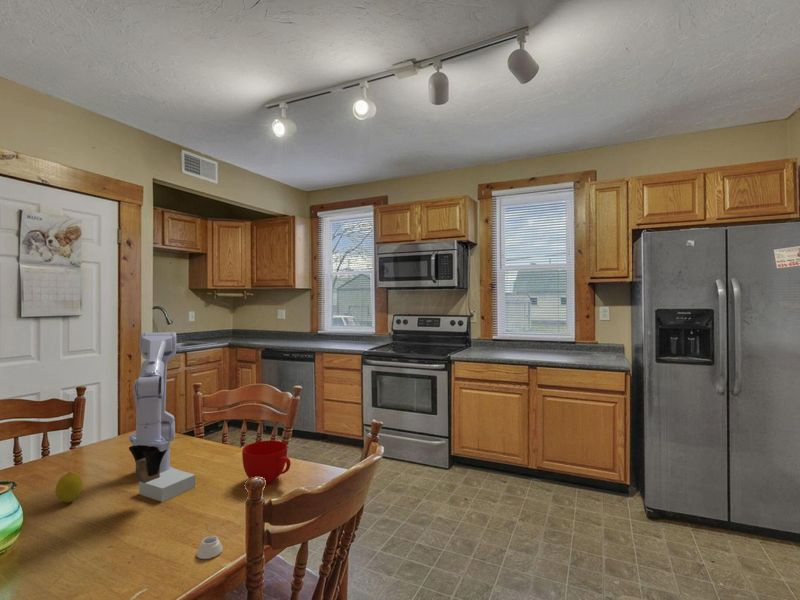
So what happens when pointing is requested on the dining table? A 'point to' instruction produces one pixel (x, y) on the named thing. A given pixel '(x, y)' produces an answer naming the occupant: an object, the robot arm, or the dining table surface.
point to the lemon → (69, 487)
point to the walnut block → (144, 472)
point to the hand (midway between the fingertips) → (148, 473)
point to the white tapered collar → (209, 548)
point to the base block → (167, 485)
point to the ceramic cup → (265, 460)
